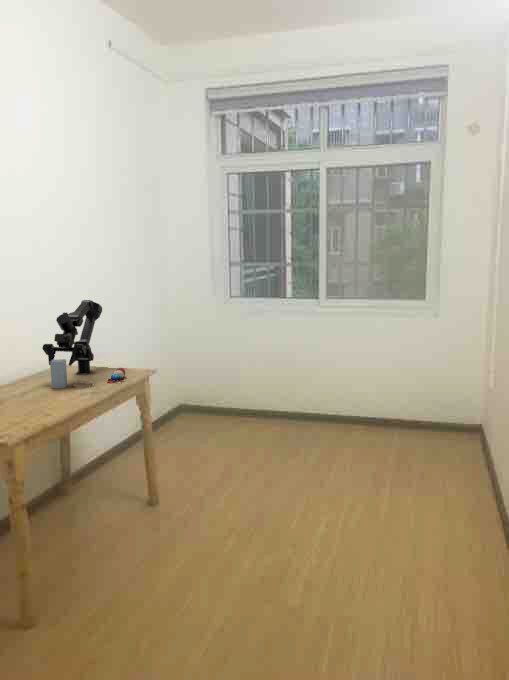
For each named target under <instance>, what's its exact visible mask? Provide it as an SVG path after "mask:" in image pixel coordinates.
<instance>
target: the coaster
mask: <svg viewBox="0 0 509 680" xmlns="http://www.w3.org/2000/svg"><path fill="white" fill-rule="evenodd" d="M93 384H94V382H93V381H79V382H78V381H77V382H74V383H73V384H72V386H74V388H77V387H84V388H89V386H90V387H93V386H94V385H93ZM92 385H93V386H92Z"/></svg>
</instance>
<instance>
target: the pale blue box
mask: <svg viewBox="0 0 509 680" xmlns="http://www.w3.org/2000/svg"><path fill="white" fill-rule="evenodd" d="M49 367H50V378H51V381H50V383H51V389H64V388H66V387H68V374H67V373H68V371H67V359H64V358H63V359H61V358H60V359H54V360H52V361H50V365H49Z"/></svg>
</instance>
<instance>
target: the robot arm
mask: <svg viewBox="0 0 509 680" xmlns="http://www.w3.org/2000/svg"><path fill="white" fill-rule="evenodd" d="M101 314H103V307H102V305H101V304H100V303H97V302H94V301H93V300H91V299H83V300H81V303H80V304H79V305H78V306H77V308H76V309H75V310H74V311H72V312H70V313H68V312H62V314H60V315H57V317H56V320H55V321H56V323H57V325H58V326H59V328H60V330H61V331H63V333H55V335H54V342H56V345H57V346H54V344H53V343H43V345H42V347H41V348H42V350H43V352H44V353H45V355H46V356H47V357H48V365H49V366H50V361H52V360H55V357H56V354H57V352H65V353H71V355H70V359H69V361H68V366H69V367H71V366H72V365H73V364H74V363H75V362H77V369H78V370H77V372H75V374H76V373H86V374H91V372H93V369H91V362H92V361H94V357H95V355H94V353H93V352H92V348H91V345H90V342H91V338H92V336H93V335H92V334H93V331H94V328H95V324H96V321H97V320H98V319H100V317H101ZM84 317H85V320H84V319H83V318H84ZM83 323H84V324H83ZM82 325H83V327H82ZM80 327H82V330H81V335H80V338H79V341H77V340H76V341H75V339H76V336H78V335H79V333H78V329H77V328H80Z"/></svg>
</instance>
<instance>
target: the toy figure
mask: <svg viewBox="0 0 509 680" xmlns="http://www.w3.org/2000/svg"><path fill="white" fill-rule="evenodd" d="M125 375H126V371H125V369H124V368H123V367H118V368H116V369H115V371H114V372H113V373H112V374H110V378H108V379H107V381H106V383H107V384H115V383H114V382H121V383H122V382H123V380H124V377H125Z"/></svg>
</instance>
